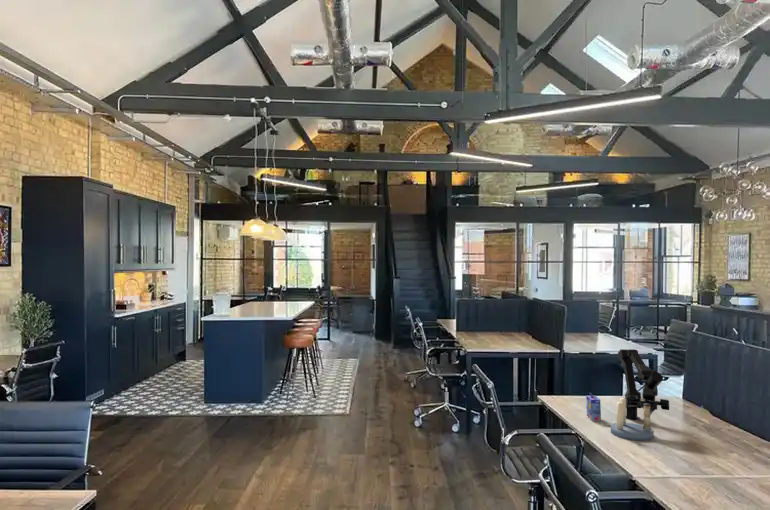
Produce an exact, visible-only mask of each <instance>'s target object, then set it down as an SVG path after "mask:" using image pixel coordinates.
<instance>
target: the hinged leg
mask: <svg viewBox="0 0 770 510" xmlns="http://www.w3.org/2000/svg"><path fill="white" fill-rule="evenodd" d="M643 405H644V409H643V429H649V430H651V415H650V404H648V403H644V404H643Z"/></svg>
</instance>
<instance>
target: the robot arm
mask: <svg viewBox="0 0 770 510" xmlns="http://www.w3.org/2000/svg"><path fill="white" fill-rule="evenodd" d="M617 356H618V358H619V359H618V360H619V362H621V364H622V366H623V371H624V377H625V384H626V392H625V394H624V399H626V419H629V420H634V421H635V420H636V421H637V420H639V419H641V417H640V416H638V409H643V410H644V405H643V404H644V403H648V404H650V416H651V415H652V413H654V412H655V411H657V410H658V406H660V409H661V410H665V411H669V410H670V400H669V399H665V398H660V399H659V400H656V396H658V394H659V392H658V391H659V389H658V386H659V385H661V383H662V382H663V381H664V377H663V375H662V374H661V373H659V372H658V371H657V370H652V368H651V367H649V366H648V365H646V363H645V362H644V360H643V359H642V357H641V355H640V354H639V350H637V349H632V348H631V349H621V348H620V350H619V351H618V352H617ZM633 365H634V366H635V367H633ZM634 368H636V370H637V372H636V375H637V378H638V379H639V381H643V382H644V383H643V388H642V394H641V391H638V390H637V385H636V379H635V372H634Z"/></svg>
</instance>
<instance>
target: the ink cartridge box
mask: <svg viewBox="0 0 770 510" xmlns="http://www.w3.org/2000/svg"><path fill="white" fill-rule="evenodd" d="M585 398H586V417H587V416H588V417H589V418H590V419H591V420H593V421H592V422H602V413H601V412H602V410H601V405H602V404H601V399H600V398H598V397H597V396H596V395H593V393H591V392H589V395H588V394H587V395H586V397H585ZM588 417H587V418H588ZM589 418H588V419H589ZM590 419H589V420H590ZM591 420H590V421H591Z"/></svg>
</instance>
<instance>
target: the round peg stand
mask: <svg viewBox="0 0 770 510" xmlns="http://www.w3.org/2000/svg"><path fill="white" fill-rule="evenodd" d="M643 426H644V424H637V423H633V422H632V423H631V422H627V418H626V399H625V397H620V398H619V401H617V402H616V422H615V423H612V424H611V425H610V433H611V434H612V435H613V436H615V437H618V438H621V439H625V440H629V441H636V440H637V441H638V442H640V441H641V442H647V441H651V440H653V439H655V438H654V437H655V435H654V434H655V433H654V432H655V430H653V429H654V428H653V425H650V427H651V430H649V429H643ZM637 441H636V442H637Z"/></svg>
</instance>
